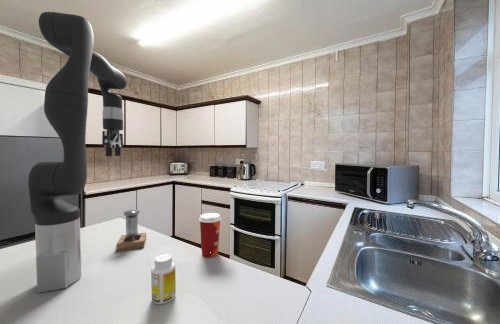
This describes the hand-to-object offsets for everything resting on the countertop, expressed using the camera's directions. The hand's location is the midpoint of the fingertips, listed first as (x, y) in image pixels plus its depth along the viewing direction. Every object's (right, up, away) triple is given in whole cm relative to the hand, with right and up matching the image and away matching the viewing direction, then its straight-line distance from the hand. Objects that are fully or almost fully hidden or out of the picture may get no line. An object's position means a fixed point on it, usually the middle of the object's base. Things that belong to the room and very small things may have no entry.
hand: (113, 156), depth 94 cm
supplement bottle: (+38, -37, -40) cm, 67 cm away
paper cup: (+45, -36, -17) cm, 60 cm away
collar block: (+14, -35, -10) cm, 39 cm away
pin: (+14, -35, -10) cm, 39 cm away
